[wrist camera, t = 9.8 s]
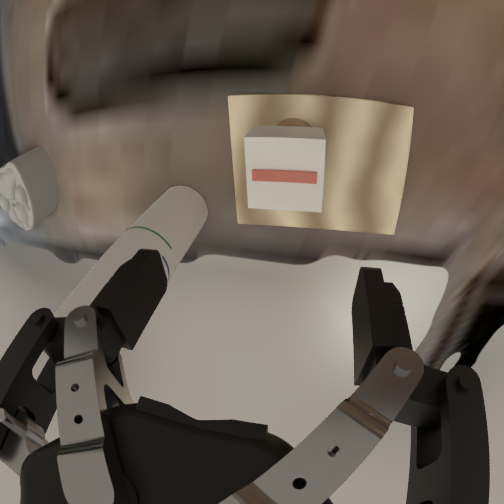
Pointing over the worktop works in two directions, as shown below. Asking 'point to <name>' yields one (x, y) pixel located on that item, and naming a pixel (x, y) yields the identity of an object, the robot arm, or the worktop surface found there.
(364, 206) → the board
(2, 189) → the lumpy-topped squat cylinder
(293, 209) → the white minus sign cube
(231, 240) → the worktop surface
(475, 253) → the worktop surface
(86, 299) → the cylindrical container
